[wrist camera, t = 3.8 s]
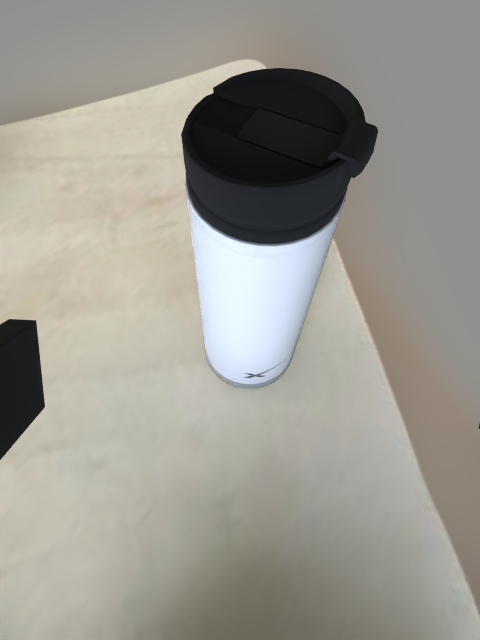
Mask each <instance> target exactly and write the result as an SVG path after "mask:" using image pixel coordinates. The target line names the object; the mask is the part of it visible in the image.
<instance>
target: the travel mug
mask: <svg viewBox="0 0 480 640" xmlns="http://www.w3.org/2000/svg"><path fill="white" fill-rule="evenodd" d="M213 91H214V93H213V94H210V95H208V96H206V97H204V98H203V99H202V100H201V101H200V102H199V103H198V104H197V105H196V106H195V107H194V108H193V110H192V111H191V113H190V114H189V115H188V118H187V119H186V122H185V125H184V128H183V131H182V134H181V136H182V144H183V154H184V163H185V169H186V192H187V201H188V210H189V218H190V227H191V235H192V243H193V252H194V260H195V269H196V277H197V286H198V294H199V303H200V311H201V320H202V328H203V337H204V345H205V352H206V358H207V360H208V363H209V365H210V367H211V368H212V370H213V371H214V373H215V374H216V375H217V376H218V377H219V378H221V379H222V380H224V381H225V382H227V383H228V384H231V385H233V386H236V387H240V388H259V387H263V386H266V385H268V384H271V383H272V382H274V381H276V380H277V379H278V378H279V377H280V376H281V375H282V374H284V372H285V371H286V369H287V368H288V366H289V364H290V361H291V358H292V356H293V352H294V350H295V347H296V344H297V341H298V338H299V335H300V332H301V329H302V326H303V323H304V320H305V317H306V314H307V311H308V308H309V305H310V302H311V299H312V296H313V293H314V290H315V287H316V284H317V282H318V279H319V276H320V273H321V270H322V267H323V264H324V261H325V258H326V255H327V252H328V249H329V246H330V243H331V240H332V237H333V234H334V231H335V228H336V225H337V222H338V219H339V216H340V212H341V210H342V207H343V204H344V202H345V196H346V191H347V186H348V184H349V181H350V179H351V177H353V178H355V177H356V176H357V175H359V174H360V173H361V172H362V171H363V169H364V168H365V166H366V164H367V163H368V161H369V159H370V157H371V155H372V153H373V151H374V146H375V142H376V138H377V133H378V129H377V127H376V126H374V125H371V124H368V123H366V122H365V117H364V112H363V110H362V108H361V106H360V104H359V102H358V100H357V99H356V98H355V97H354V96H353V94H352V93H351V92H350V91H349V90H348V89H346V88H345V87H343V86H342V85H341V84H339V83H338V82H336V81H334V80H332V79H329V78H328V77H325V76H322V75H319V74H316V73H313V72H309V71H304V70H298V69H284V68H274V69H261V70H256V71H251V72H246V73H243V74H239V75H236V76H233V77H231V78H229V79H227V80H226V81H224V82H222V83H221V84H219V85H217V86H215V87H214V88H213Z"/></svg>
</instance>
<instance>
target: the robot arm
mask: <svg viewBox="0 0 480 640" xmlns="http://www.w3.org/2000/svg"><path fill="white" fill-rule="evenodd" d="M44 407H45V403H44V394H43V384H42V374H41V364H40V354H39V344H38V335H37V325H36V320H15V319H9V320H7V321H5V322H4V323H2V324H1V325H0V460H1V458H2V457H3V456H4V455H5V454H6V452H7V451H8V450H9V449H10V448H11V447H12V445H13V444H14V443H15V442H16V441H17V439H18V438H19V437H20V436H21V435H22V434H23V432H24V431H25V430H26V429H27V428H28V426H29V425H30V424H31V423H32V422H33V420H34V419H35V418H36V417H37V416H38V415H39V413H40V412H41V411H42V410H43V409H44ZM479 429H480V425H479Z"/></svg>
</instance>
